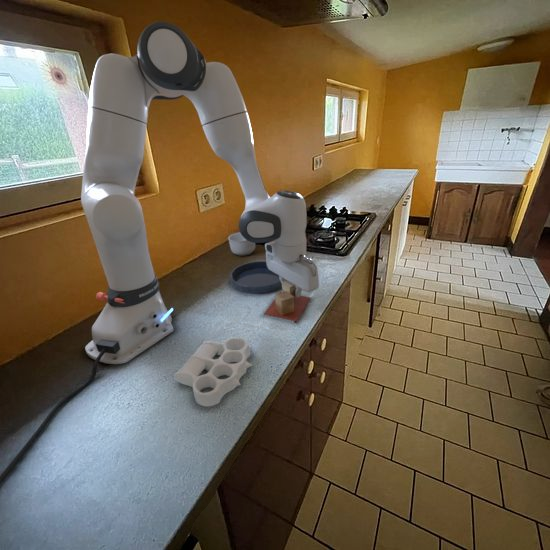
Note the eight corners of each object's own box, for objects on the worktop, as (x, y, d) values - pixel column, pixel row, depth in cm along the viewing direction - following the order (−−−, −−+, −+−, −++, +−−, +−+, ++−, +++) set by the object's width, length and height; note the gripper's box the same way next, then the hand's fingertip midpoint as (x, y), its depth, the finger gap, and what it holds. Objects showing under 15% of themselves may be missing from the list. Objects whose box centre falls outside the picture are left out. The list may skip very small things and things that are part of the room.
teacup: (251, 259, 122) (250, 240, 118) (226, 258, 124) (224, 239, 120) (260, 246, 134) (259, 229, 130) (236, 245, 136) (235, 228, 132)
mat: (296, 322, 83) (296, 321, 83) (263, 315, 87) (263, 313, 86) (310, 299, 94) (310, 297, 93) (280, 293, 97) (280, 291, 97)
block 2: (281, 315, 85) (281, 300, 83) (275, 308, 89) (274, 294, 86) (294, 311, 87) (294, 297, 84) (287, 305, 90) (287, 290, 88)
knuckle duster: (211, 340, 78) (264, 353, 73) (165, 394, 63) (227, 414, 58) (210, 330, 76) (263, 342, 71) (162, 382, 61) (225, 402, 56)
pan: (273, 299, 94) (272, 291, 93) (220, 289, 101) (219, 281, 100) (294, 272, 110) (294, 265, 108) (246, 265, 117) (246, 258, 115)
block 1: (289, 301, 90) (289, 287, 87) (282, 295, 93) (282, 281, 90) (300, 297, 91) (300, 283, 89) (293, 292, 94) (293, 277, 92)
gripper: (325, 258, 79) (323, 303, 85) (278, 237, 94) (279, 277, 100) (307, 265, 76) (306, 311, 82) (261, 242, 90) (263, 283, 97)
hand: (291, 292), depth 91 cm, fingers closed on block 1, 4 cm apart
